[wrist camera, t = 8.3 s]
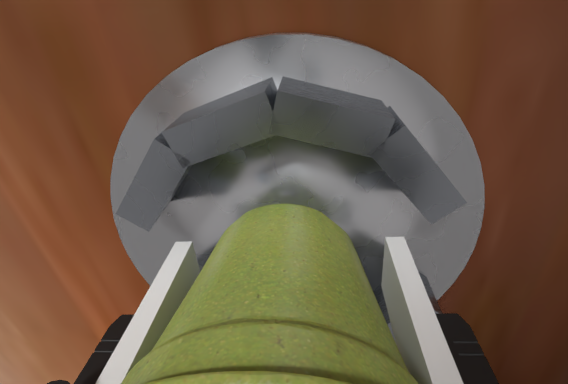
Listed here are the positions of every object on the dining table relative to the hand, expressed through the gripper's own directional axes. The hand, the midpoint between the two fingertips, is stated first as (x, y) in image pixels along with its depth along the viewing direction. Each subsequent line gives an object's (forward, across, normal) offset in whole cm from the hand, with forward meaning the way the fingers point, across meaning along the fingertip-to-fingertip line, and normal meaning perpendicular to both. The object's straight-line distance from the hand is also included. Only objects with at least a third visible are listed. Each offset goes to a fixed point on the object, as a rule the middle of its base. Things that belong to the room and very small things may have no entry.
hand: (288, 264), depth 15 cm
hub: (+3, 0, 0) cm, 3 cm away
